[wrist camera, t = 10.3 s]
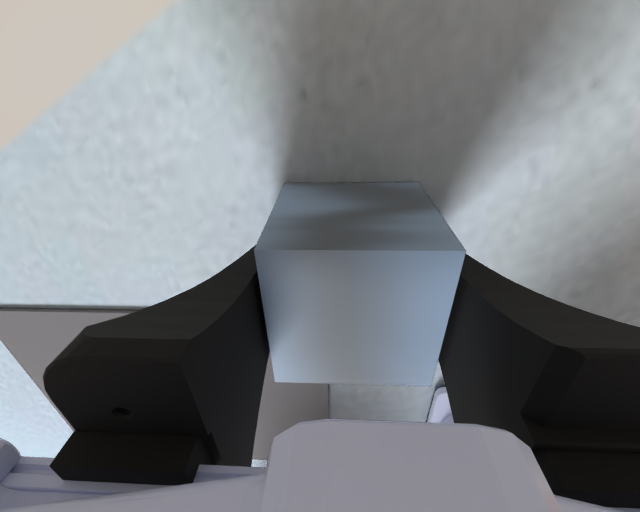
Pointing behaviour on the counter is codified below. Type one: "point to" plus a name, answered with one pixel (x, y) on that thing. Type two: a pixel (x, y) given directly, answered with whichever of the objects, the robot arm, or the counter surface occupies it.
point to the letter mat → (64, 325)
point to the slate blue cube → (357, 283)
